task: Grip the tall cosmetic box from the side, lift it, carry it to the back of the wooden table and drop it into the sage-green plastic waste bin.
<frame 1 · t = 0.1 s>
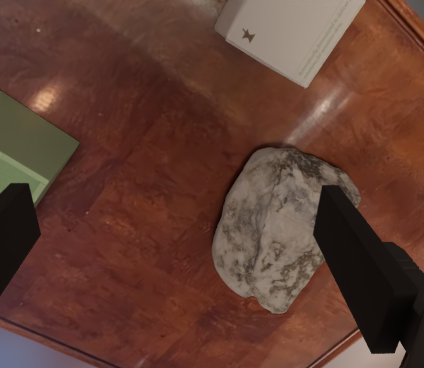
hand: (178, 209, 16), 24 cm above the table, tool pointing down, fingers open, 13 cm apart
decorative stone: (266, 214, 45), on the table
cosmetic box: (259, 4, 34), on the table
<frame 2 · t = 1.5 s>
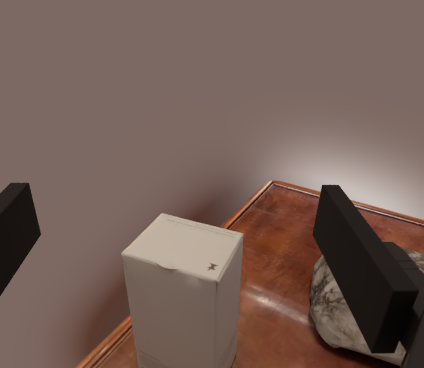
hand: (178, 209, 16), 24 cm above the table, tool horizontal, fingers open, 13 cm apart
decorative stone: (393, 328, 41), on the table
cosmetic box: (186, 367, 36), on the table
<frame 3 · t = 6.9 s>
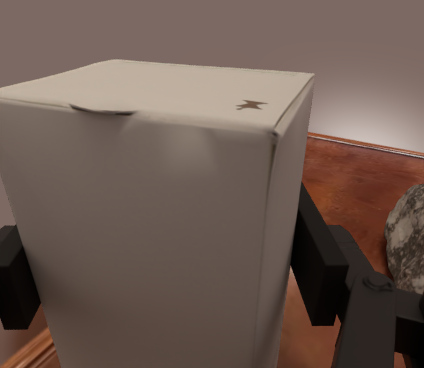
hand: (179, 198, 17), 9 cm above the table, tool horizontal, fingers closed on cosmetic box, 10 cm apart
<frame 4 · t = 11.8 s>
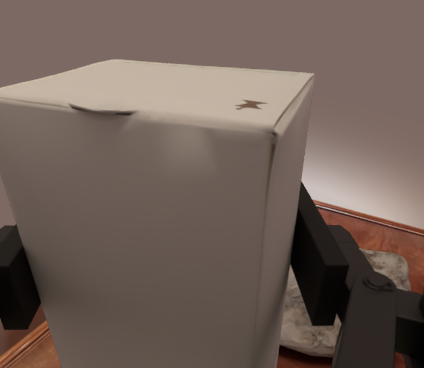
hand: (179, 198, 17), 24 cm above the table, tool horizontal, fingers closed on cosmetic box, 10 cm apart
decorative stone: (317, 319, 42), on the table
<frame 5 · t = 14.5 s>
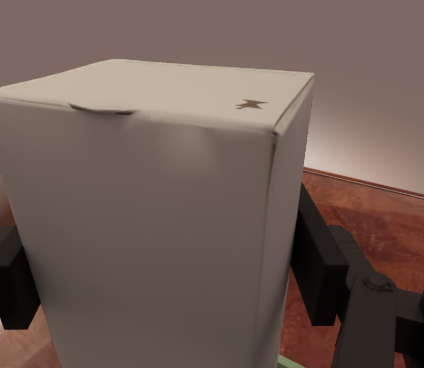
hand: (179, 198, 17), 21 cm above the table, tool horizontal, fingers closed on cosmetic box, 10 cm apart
when the fingers open (15 cm above the table, at t = 16.8 s): cosmetic box drops 6 cm, resting on bin.
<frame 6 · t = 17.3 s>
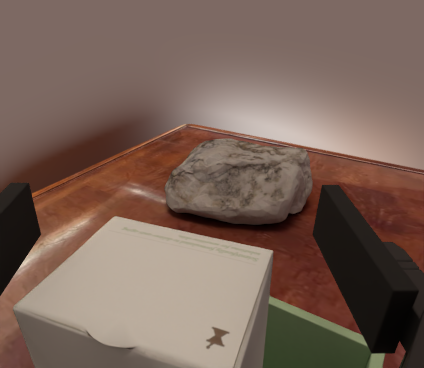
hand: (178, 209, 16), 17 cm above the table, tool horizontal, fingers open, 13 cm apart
decorative stone: (237, 205, 50), on the table
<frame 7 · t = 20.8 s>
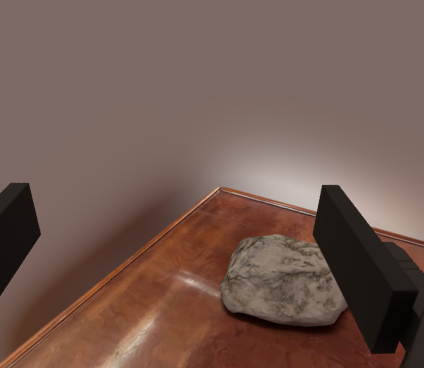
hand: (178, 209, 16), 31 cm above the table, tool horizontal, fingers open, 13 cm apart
decorative stone: (285, 299, 54), on the table
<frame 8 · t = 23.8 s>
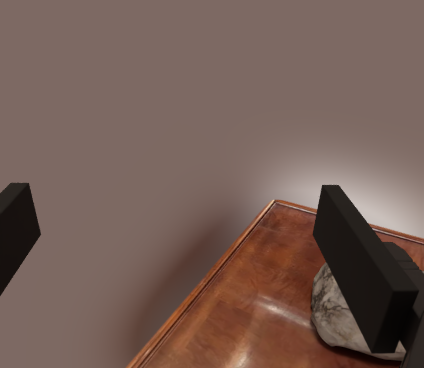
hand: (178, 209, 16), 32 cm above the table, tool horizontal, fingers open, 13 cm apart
decorative stone: (379, 329, 50), on the table
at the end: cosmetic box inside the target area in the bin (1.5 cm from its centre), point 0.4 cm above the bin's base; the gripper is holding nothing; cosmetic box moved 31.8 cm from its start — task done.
